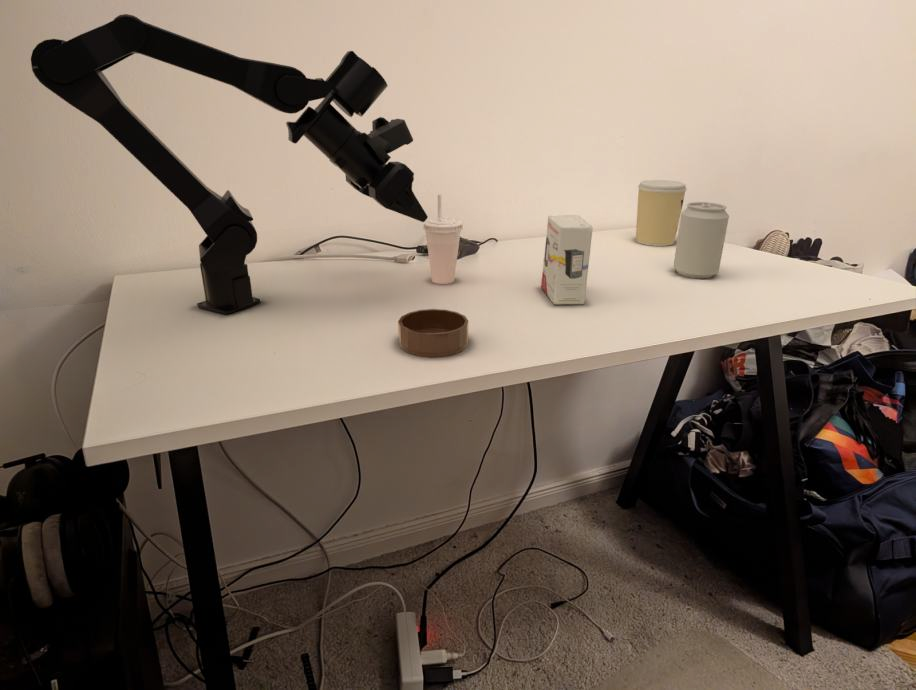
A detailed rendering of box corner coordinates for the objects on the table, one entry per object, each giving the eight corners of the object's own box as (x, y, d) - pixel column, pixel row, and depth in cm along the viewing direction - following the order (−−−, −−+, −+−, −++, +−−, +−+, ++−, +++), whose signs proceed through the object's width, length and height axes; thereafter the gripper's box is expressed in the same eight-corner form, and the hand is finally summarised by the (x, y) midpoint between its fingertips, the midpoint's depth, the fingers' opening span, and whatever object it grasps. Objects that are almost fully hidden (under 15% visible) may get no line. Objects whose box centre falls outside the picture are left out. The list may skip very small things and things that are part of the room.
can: (672, 277, 103) (683, 206, 99) (672, 266, 110) (682, 199, 105) (719, 281, 101) (733, 209, 97) (716, 269, 108) (728, 201, 103)
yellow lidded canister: (687, 245, 124) (696, 185, 119) (646, 248, 122) (655, 187, 117) (661, 235, 132) (669, 179, 128) (623, 237, 130) (630, 180, 125)
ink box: (540, 288, 97) (545, 214, 93) (571, 287, 98) (577, 214, 93) (553, 306, 89) (559, 226, 85) (586, 305, 90) (594, 226, 85)
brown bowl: (385, 347, 75) (384, 324, 74) (424, 325, 82) (423, 304, 81) (444, 362, 71) (444, 339, 70) (479, 338, 78) (480, 316, 77)
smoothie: (425, 274, 104) (424, 191, 98) (462, 275, 103) (464, 192, 98) (422, 286, 98) (420, 198, 92) (461, 286, 98) (462, 198, 92)
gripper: (396, 100, 78) (473, 183, 86) (360, 97, 94) (428, 167, 102) (340, 166, 78) (422, 242, 87) (314, 152, 94) (385, 217, 102)
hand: (415, 213), depth 94 cm, fingers open, 9 cm apart
